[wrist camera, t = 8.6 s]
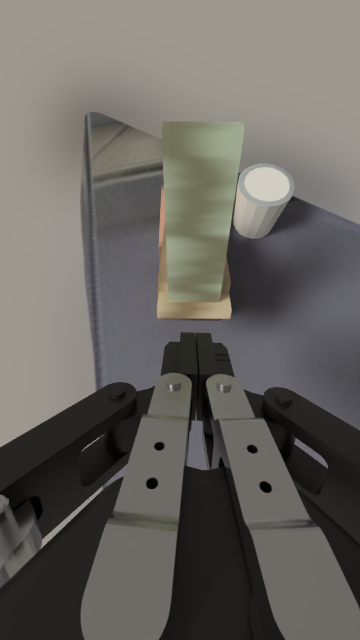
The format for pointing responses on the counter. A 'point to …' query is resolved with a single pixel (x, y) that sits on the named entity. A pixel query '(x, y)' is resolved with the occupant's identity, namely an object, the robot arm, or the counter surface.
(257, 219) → the white cylinder
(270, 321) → the counter surface
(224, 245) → the ramp
